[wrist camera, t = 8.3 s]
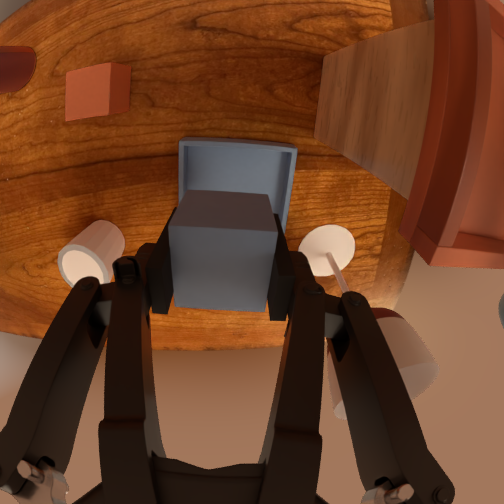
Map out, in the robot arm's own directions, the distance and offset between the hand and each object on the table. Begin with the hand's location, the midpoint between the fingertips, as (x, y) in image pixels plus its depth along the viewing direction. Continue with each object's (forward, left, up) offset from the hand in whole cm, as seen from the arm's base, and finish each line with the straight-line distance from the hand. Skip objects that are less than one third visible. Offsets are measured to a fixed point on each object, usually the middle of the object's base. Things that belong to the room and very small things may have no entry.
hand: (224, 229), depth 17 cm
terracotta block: (+13, -10, -12) cm, 20 cm away
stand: (-13, -10, -12) cm, 20 cm away
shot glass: (+15, +8, -12) cm, 21 cm away
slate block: (0, 0, 0) cm, 0 cm away
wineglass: (-12, +8, -12) cm, 19 cm away
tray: (-1, +1, -12) cm, 12 cm away
